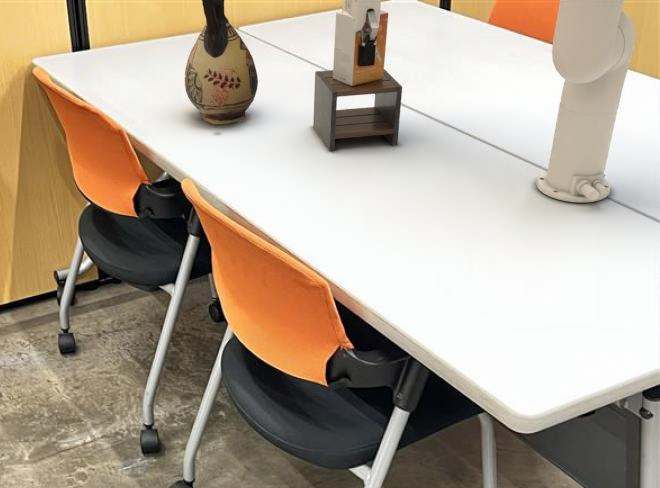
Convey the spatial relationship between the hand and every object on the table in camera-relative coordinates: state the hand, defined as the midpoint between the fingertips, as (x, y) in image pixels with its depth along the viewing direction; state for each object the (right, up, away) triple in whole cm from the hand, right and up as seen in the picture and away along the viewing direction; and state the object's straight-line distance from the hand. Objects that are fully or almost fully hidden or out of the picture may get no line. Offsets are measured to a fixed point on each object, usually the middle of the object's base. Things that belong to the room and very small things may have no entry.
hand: (359, 58), depth 192 cm
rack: (0, -13, +9) cm, 16 cm away
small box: (0, -4, +2) cm, 4 cm away
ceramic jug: (-27, -8, +19) cm, 34 cm away
